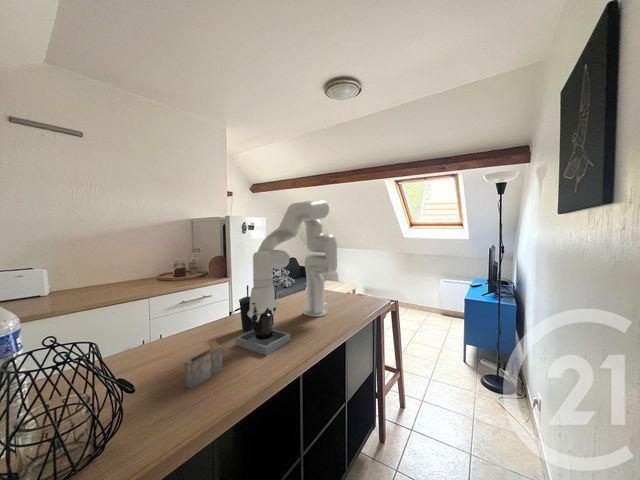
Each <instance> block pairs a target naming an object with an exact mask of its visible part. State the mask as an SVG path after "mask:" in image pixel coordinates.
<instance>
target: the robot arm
mask: <svg viewBox="0 0 640 480" xmlns="http://www.w3.org/2000/svg"><path fill="white" fill-rule="evenodd" d="M329 212H330V206H329V204H328V203H327V201H325V200H308V201H307V200H306V201H300V202H293V203H291V204H289V206H288V207H287V209H286V211H285V213H284V215H283V218H282V220H281V222H280V224H279V226H278V227H277V228H276V229H275V230H273V231H272V232H271V233H269V235H267V236H265V238H264V239H263V241H262V242H261V244H260V246H259V247H258V250H257V251H256V252H254V253H253V255H252V279H253V280H252V281H253V283H252V285H253V287H252V288H251V290H250V296H249V297H250V310H249V311H248V313H247V315H248V316H249V317H250V319H251V320H252V321H253V330H254V331H257V332H260V321H259V319H260V316H261V314H262V313H264V312H265V311H266V309H267V308H269V310H270V311H269V312H270V313H271V314H272V326H274V322H275V321H274V316H275V311H276V310H277V307H278V306H279V305H278V304H279V303H278V301H276V294H275V293H276V292H275V288H274V284H273V283H274V277H273V276H274V275H273V274H274V269H283V268H285V267H287V266H288V265H289V263H290V255H289V253H288V252H287V251H285V250H282V249H275V248H276V247H278V245H280V244H282V243H284V242H288V241H289V240H292V239H294V238H295V237H296V236H297V234H298V232H299V230H300V227H301V225H302V222H303V223H304V225H305V230H306V231H305V232H306V248H307V251H309V252H311V253H314V254H310V255H307V256H306V257H305V259H304V268H305V275H306V308H305V309H304V310H303V314H304V315H305V316H308V317H311V318H312V317H313V318H315V317H317V318H319V317H323V316H326V315H327V314H328V310H327V308H326V306H328V303H327V302H325V279H324V276H323V274H329V275H330V274H334V273H336V272H337V268H338V249H337V248H338V245H337V240H336V237H335V236H334V235H333V234H329V233H328V234H327V233H326V234H325V233H323V232H324V231H323V224H322V222H321V220H322V219H325V218H326V217H327V216H328V215H329V214H330V213H329ZM315 253H324V254H315ZM325 308H326V309H325ZM256 314H257V318H256Z"/></svg>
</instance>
